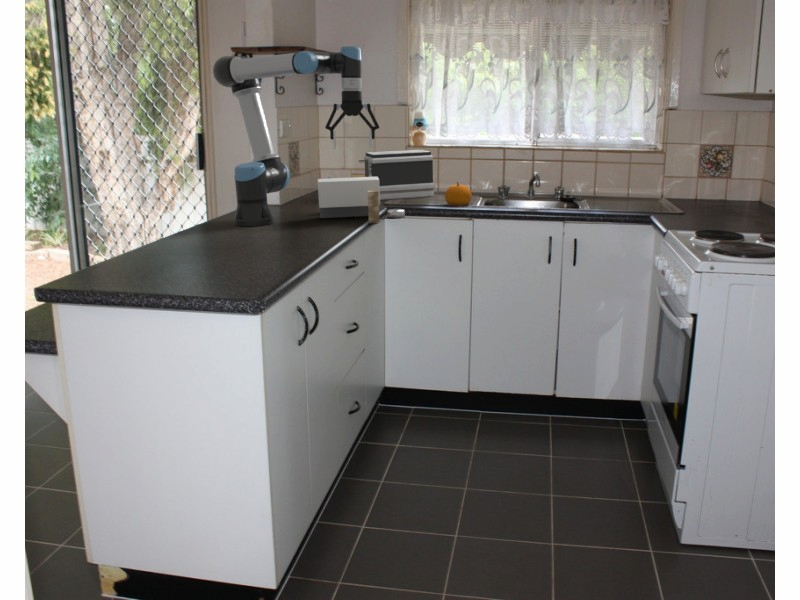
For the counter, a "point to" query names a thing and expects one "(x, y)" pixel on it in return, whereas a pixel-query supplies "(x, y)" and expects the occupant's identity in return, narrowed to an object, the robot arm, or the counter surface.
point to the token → (395, 213)
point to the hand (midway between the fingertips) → (352, 148)
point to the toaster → (401, 173)
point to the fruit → (458, 195)
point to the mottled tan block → (373, 206)
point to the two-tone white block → (345, 196)
